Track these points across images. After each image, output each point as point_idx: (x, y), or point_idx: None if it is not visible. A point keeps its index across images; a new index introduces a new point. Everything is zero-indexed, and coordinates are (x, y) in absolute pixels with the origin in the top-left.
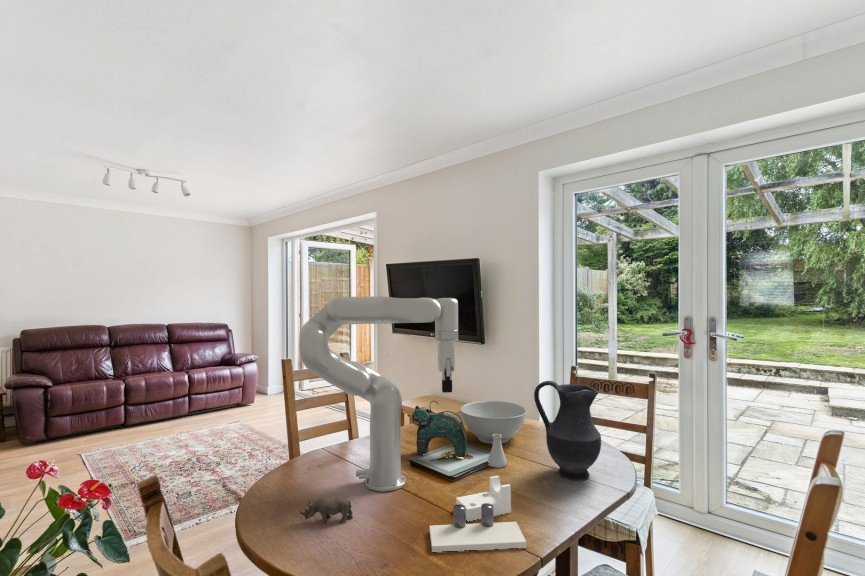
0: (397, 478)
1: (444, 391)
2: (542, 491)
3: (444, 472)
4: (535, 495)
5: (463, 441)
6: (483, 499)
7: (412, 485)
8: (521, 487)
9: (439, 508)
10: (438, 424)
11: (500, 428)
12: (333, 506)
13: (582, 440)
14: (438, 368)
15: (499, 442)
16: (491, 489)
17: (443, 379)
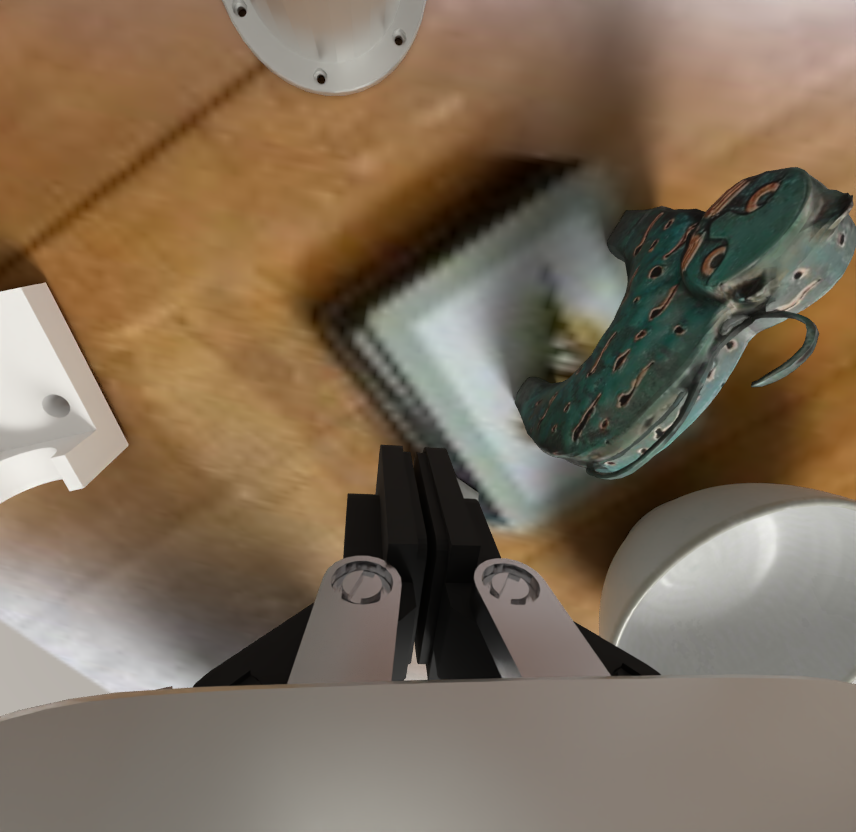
0: (268, 25)
1: (379, 470)
2: (206, 581)
3: (404, 302)
4: (177, 557)
5: (531, 433)
6: (16, 391)
7: (287, 126)
8: (239, 534)
9: (55, 213)
10: (637, 340)
11: (603, 604)
12: None
13: None
14: (457, 719)
15: None
16: (76, 438)
17: (323, 576)
